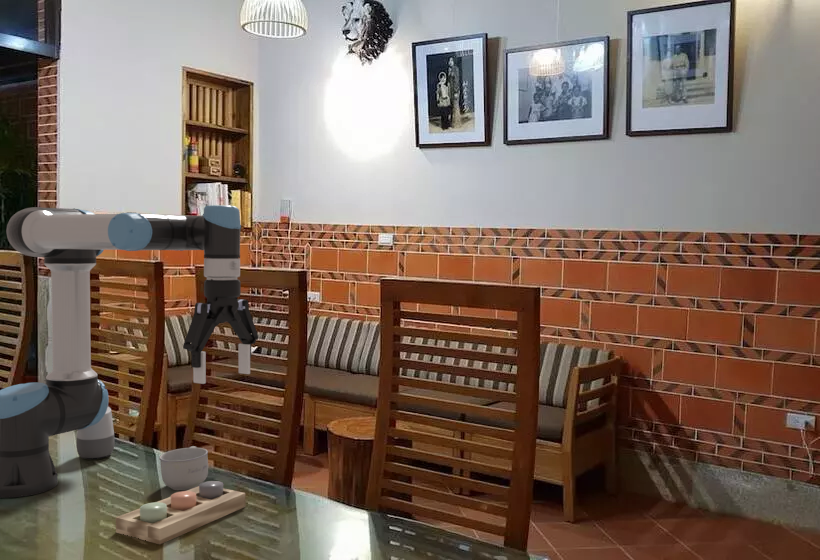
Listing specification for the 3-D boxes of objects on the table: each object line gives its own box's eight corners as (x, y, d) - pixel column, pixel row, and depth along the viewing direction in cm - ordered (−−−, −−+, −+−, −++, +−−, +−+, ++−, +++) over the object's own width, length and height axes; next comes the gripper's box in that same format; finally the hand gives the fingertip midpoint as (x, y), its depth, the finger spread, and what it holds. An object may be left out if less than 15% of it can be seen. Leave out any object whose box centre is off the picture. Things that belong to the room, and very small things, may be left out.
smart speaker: (97, 463, 197) (97, 409, 197) (68, 459, 200) (67, 406, 200) (122, 453, 206) (121, 402, 206) (93, 450, 209) (93, 399, 209)
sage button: (134, 523, 150) (134, 508, 150) (154, 515, 154) (154, 500, 154) (152, 528, 147) (152, 512, 147) (172, 519, 152) (172, 505, 152)
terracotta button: (165, 510, 157) (165, 496, 157) (183, 503, 161) (183, 489, 161) (183, 515, 154) (183, 500, 154) (201, 507, 159) (201, 493, 159)
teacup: (194, 495, 173) (194, 460, 172) (150, 492, 175) (150, 457, 174) (221, 477, 186) (221, 444, 186) (180, 474, 188) (180, 442, 188)
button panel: (115, 532, 150) (115, 517, 150) (203, 497, 171) (203, 484, 171) (159, 544, 145) (159, 528, 144) (245, 506, 166) (245, 493, 165)
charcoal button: (194, 499, 164) (194, 485, 164) (210, 493, 168) (210, 479, 168) (211, 503, 161) (211, 489, 161) (228, 496, 166) (228, 483, 166)
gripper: (192, 281, 150) (192, 389, 151) (274, 277, 172) (274, 371, 173) (164, 280, 154) (165, 385, 155) (248, 276, 175) (248, 368, 176)
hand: (222, 378), depth 164 cm, fingers open, 13 cm apart
